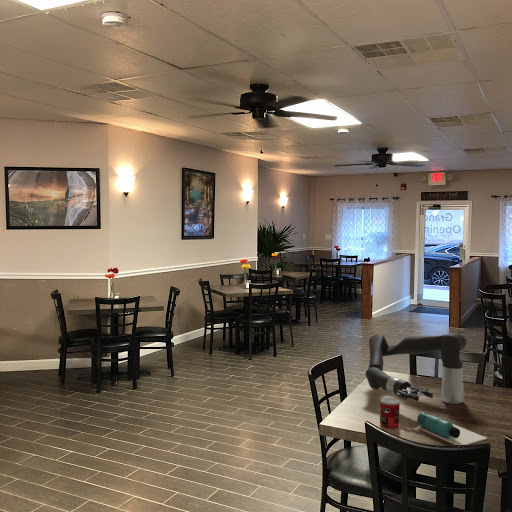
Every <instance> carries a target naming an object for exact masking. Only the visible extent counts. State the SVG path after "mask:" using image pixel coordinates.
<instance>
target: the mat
mask: <svg viewBox="0 0 512 512" xmlns="http://www.w3.org/2000/svg"><path fill="white" fill-rule="evenodd" d="M452 424H453V426H454V427H456V428H458V429H459V430H460V436H459V437H458V438H453V437H451V436H450V437H444V436H442V435H440V434H437V433H435V432H433V431H430V430H428V429H426V428H424V427H421V426H417V427H416V428H417V429H419V430H421V431H423V432H426V433H427V434H430V435H432V436H434V437H436V438H439V439H441V440H443V441H445V442H447V443H450V444H452V445H454V446H456V445H466V446H468V445H473V444H476V443H479V442H483V441H485V440H488V437H486V436H484V435H481V434H478V433H476V432H474V431H471V430H469V429H467V428H464V427H461V426H459V425H457V424H454V423H452Z"/></svg>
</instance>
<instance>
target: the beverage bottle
mask: <svg viewBox="0 0 512 512" xmlns="http://www.w3.org/2000/svg"><path fill="white" fill-rule="evenodd" d="M416 422H417V424H418V425H419V426H421V427H424V428H426V429H428V430H430V431H433V432H435V433H437V434H440V435H442V436H444V437H450V436H451V437H453V438H458V437H459V436H460V430H459V429H458V428H456V427H454V426H453V424H454V423H452V422H450V421H448V420H445V419H444V418H441V417H438V416H435V415H433V414H431V413H429V412H427V411H420V412H419V414H417V418H416ZM419 426H418V427H419Z"/></svg>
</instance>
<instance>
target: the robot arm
mask: <svg viewBox="0 0 512 512" xmlns="http://www.w3.org/2000/svg"><path fill="white" fill-rule="evenodd" d="M368 345H369V362H368V368H367V369H366V371H365V377H366V380H367V383H368V385H369V387H370V388H371V389H374V390H379V389H382V390H383V391H387V392H389V393H390V394H392V395H394V396H397V397H399V398H400V399H401V398H402V399H403V400H412V401H413V400H414V401H416V402H419V401H420V397H421V396H423V397H427V398H430V399H433V398H434V393H433V392H430V390H429V389H428V388H426V387H424V386H420V385H417V387H415V386H412V385H411V383H410V382H408V381H406V380H404V379H401V378H398V377H393V376H391V375H388V374H387V373H385V372H384V358H383V357H388V356H396V355H420V354H428V353H432V352H433V353H434V352H438V351H440V359H441V362H442V368H441V369H442V371H441V372H442V373H441V375H442V376H441V401H442V402H443V403H446V404H451V405H459V404H461V403H463V402H464V397H465V396H464V395H465V394H464V393H465V392H464V390H465V389H464V388H465V387H464V386H465V382H464V381H463V371H464V370H463V369H464V368H463V367H464V366H463V363H464V362H463V361H462V360H461V356H460V355H461V351H463V350H464V349H465V347H467V340H466V338H465V336H463V335H462V334H461V333H459V332H452V333H448V334H441V335H408V336H406V337H404V338H403V339H401V340H400V341H399V342H398V343H397V344H396V345H389V343H388V341H387V339H386V337H385V336H384V334H381V333H377V334H374V335H372V336H371V337H370V338H369V339H368Z"/></svg>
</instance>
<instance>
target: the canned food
mask: <svg viewBox="0 0 512 512" xmlns="http://www.w3.org/2000/svg"><path fill="white" fill-rule="evenodd" d="M379 403H380V404H379V405H380V406H379V424H380V427H382V428H384V429H389V430H395V429H399V426H400V405H401V404H400V400H399V399H397V398H392V397H383V398H381V399H380V402H379Z"/></svg>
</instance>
